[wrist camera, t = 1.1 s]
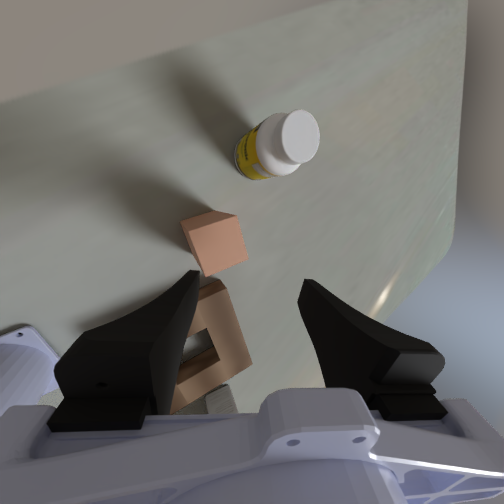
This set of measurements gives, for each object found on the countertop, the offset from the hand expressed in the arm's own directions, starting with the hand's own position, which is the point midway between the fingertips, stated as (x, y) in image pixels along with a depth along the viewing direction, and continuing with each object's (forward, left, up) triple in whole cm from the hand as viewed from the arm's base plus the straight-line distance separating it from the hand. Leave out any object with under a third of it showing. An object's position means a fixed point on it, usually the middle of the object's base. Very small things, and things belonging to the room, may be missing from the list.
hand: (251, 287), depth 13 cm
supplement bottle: (+9, +9, -14) cm, 19 cm away
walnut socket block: (-7, -12, -14) cm, 20 cm away
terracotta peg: (0, +2, -14) cm, 14 cm away
